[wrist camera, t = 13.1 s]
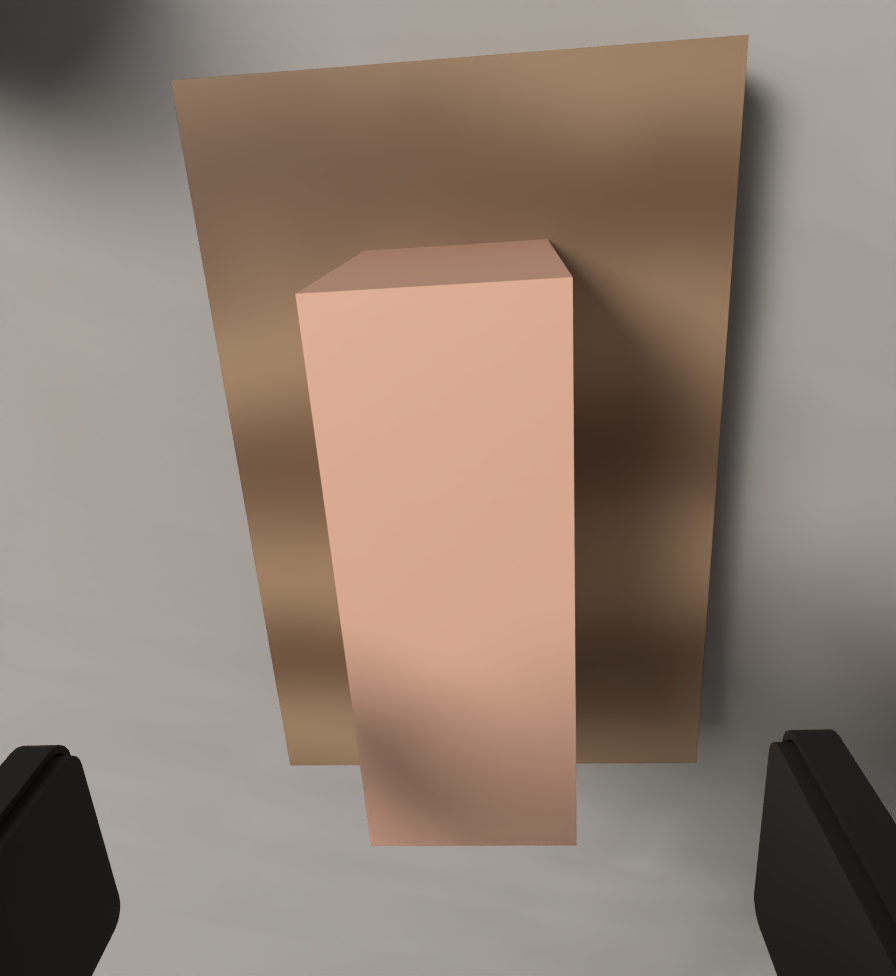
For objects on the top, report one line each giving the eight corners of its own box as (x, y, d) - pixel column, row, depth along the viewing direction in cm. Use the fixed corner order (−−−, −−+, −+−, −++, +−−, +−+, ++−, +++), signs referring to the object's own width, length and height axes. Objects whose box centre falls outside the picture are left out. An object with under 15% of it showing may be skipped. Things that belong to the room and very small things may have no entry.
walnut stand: (676, 702, 27) (696, 762, 25) (310, 707, 28) (290, 765, 26) (713, 53, 20) (748, 34, 17) (214, 91, 21) (170, 80, 18)
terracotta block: (547, 239, 19) (572, 277, 12) (555, 657, 23) (576, 845, 17) (363, 250, 19) (295, 293, 13) (406, 661, 24) (371, 845, 17)
